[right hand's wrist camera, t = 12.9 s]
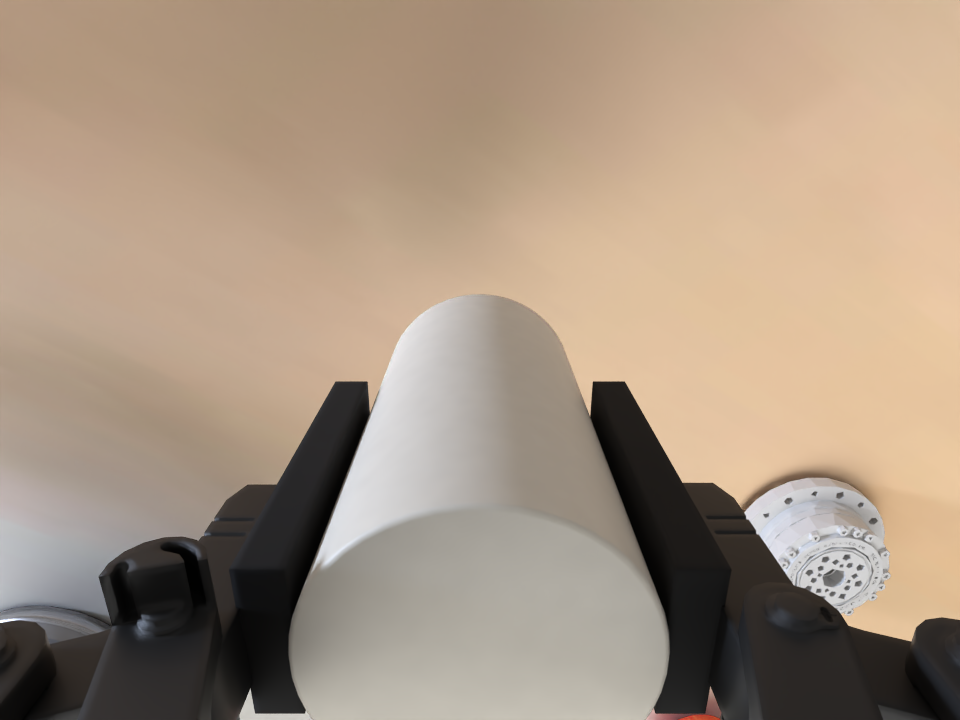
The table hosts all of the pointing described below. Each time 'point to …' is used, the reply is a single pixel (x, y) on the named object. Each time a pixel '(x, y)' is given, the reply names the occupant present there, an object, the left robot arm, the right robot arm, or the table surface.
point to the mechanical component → (825, 539)
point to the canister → (479, 544)
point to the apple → (700, 717)
